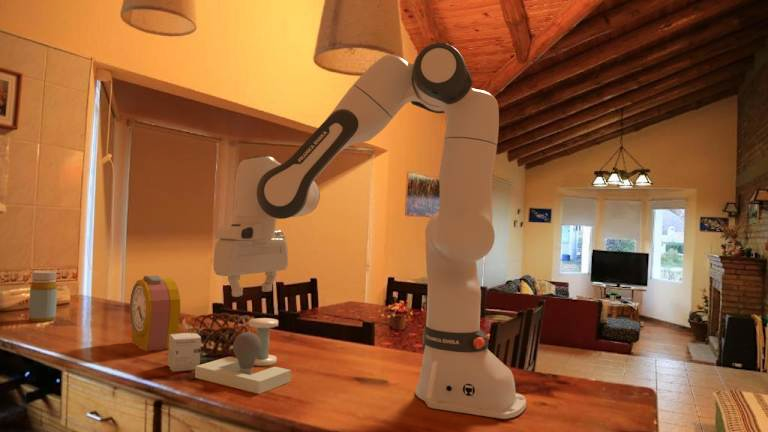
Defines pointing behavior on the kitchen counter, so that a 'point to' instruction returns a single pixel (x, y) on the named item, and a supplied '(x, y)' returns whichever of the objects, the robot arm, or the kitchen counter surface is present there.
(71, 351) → the kitchen counter surface
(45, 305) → the bottle
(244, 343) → the light bulb
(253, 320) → the bobbin
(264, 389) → the notched board
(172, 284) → the alarm clock
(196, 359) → the skincare box
